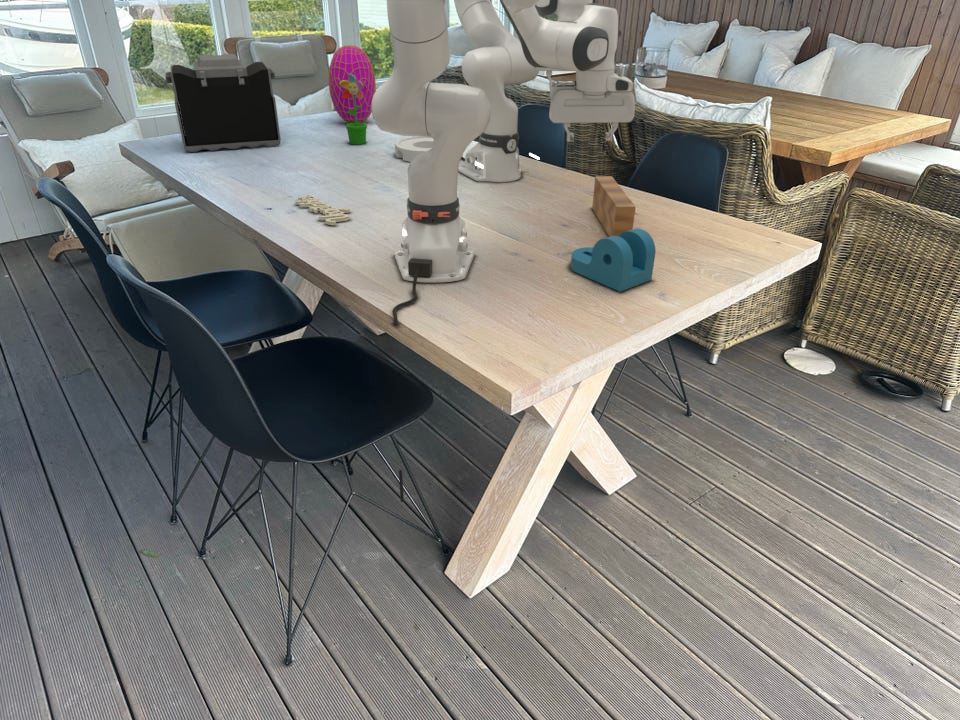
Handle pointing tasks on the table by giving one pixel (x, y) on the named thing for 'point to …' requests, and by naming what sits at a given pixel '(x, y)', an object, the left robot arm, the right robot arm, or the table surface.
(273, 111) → the electronic device
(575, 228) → the table surface
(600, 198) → the bar
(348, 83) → the potted flower
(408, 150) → the ashtray
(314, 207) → the decorative sign
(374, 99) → the left robot arm
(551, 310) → the table surface
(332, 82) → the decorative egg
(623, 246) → the camera mount
